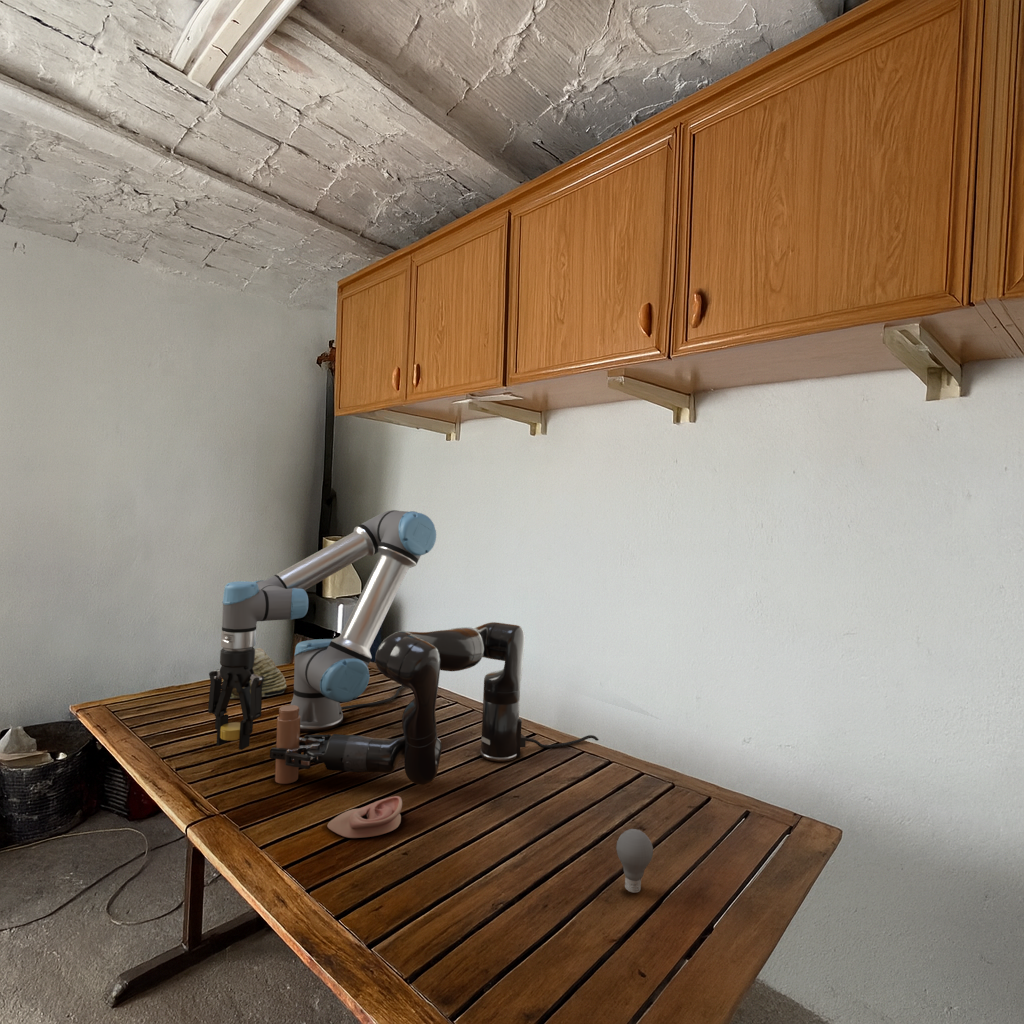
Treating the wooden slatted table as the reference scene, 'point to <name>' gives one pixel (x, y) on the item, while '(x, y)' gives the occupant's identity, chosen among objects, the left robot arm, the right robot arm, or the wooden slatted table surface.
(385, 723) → the wooden slatted table surface
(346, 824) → the anatomical model
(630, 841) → the light bulb
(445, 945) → the wooden slatted table surface
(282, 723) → the jar
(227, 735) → the lid
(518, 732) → the right robot arm
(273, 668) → the fossil
